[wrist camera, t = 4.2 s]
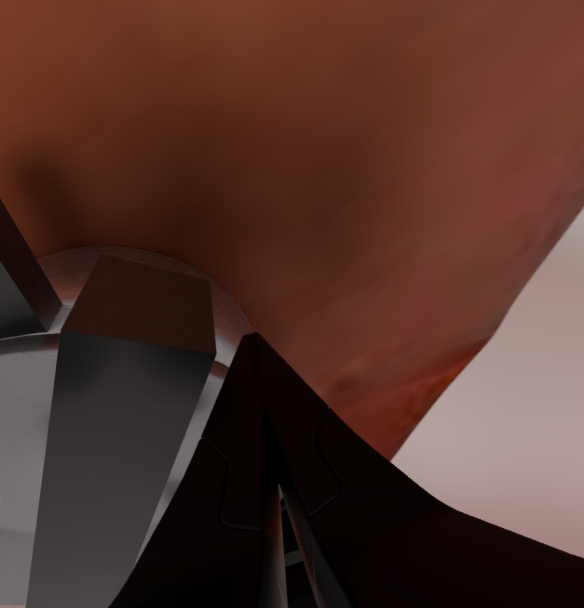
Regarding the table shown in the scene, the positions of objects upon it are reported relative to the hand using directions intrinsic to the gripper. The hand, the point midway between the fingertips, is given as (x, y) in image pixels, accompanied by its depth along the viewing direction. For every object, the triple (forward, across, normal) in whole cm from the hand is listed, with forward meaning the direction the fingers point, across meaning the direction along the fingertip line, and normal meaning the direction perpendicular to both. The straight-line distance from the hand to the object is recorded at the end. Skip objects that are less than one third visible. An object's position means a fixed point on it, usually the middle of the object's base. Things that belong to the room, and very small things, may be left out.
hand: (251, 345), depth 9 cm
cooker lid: (+2, +6, +6) cm, 9 cm away
